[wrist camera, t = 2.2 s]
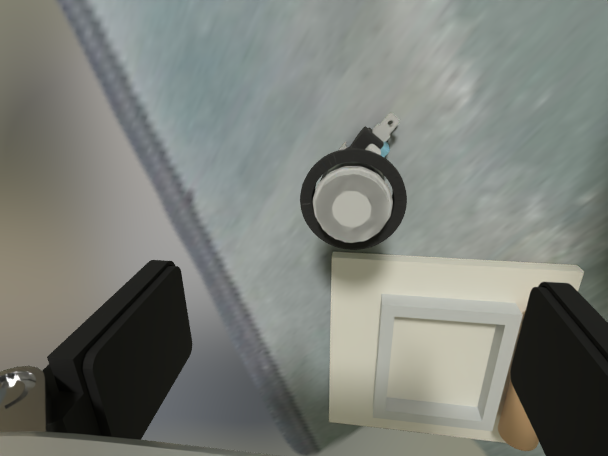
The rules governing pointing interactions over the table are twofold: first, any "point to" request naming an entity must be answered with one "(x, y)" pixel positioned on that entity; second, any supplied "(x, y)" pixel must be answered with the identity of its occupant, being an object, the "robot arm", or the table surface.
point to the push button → (355, 192)
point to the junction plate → (432, 343)
